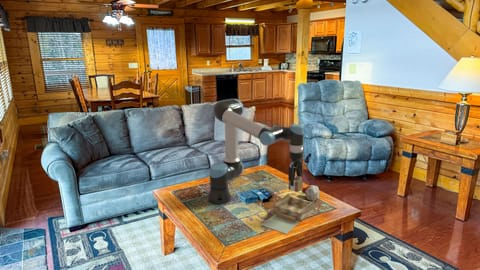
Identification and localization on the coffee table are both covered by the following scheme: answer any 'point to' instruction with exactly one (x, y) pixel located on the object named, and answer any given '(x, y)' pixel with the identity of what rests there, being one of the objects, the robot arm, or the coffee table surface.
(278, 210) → the box
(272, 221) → the lid
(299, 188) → the walnut block
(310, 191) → the candle
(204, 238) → the coffee table surface
